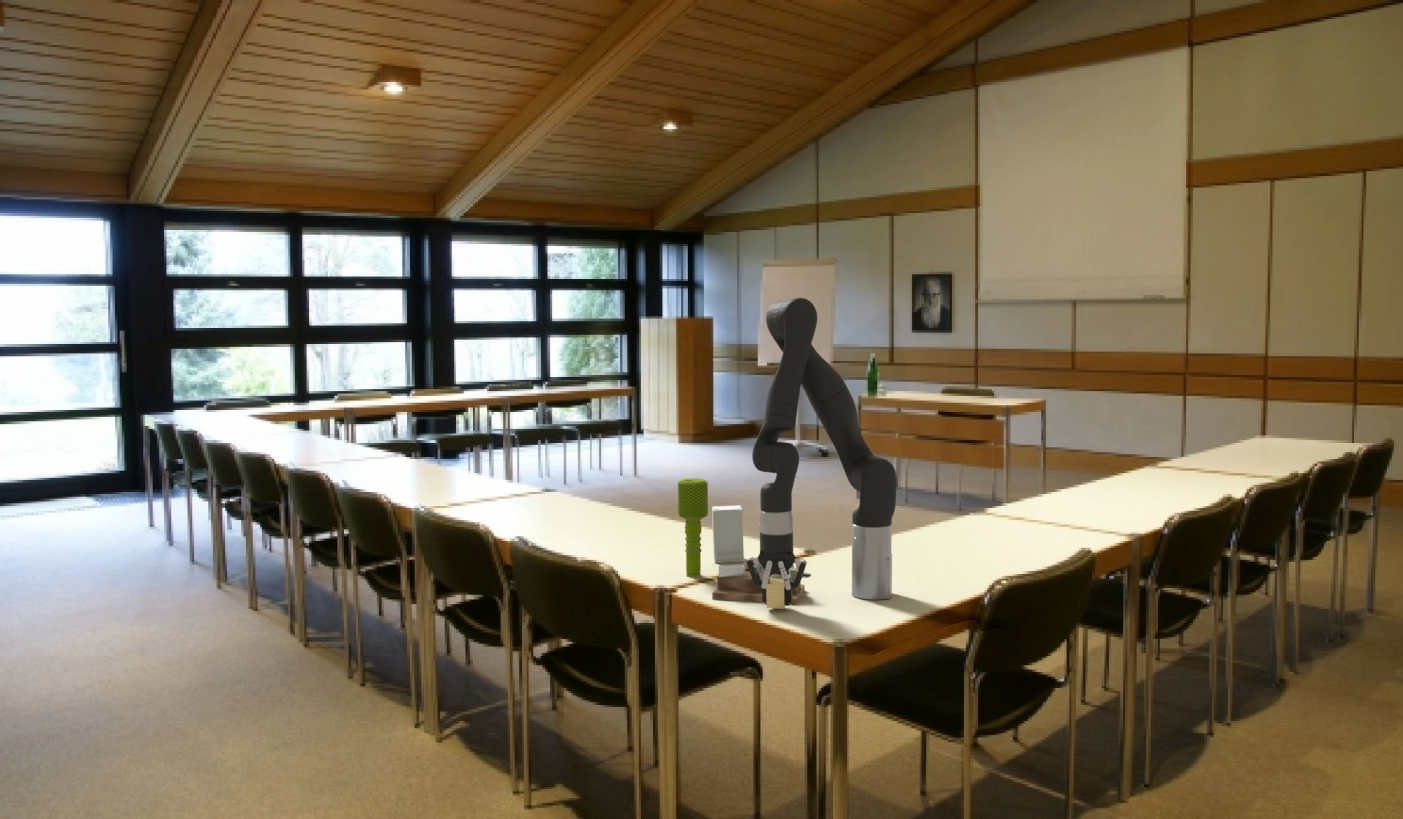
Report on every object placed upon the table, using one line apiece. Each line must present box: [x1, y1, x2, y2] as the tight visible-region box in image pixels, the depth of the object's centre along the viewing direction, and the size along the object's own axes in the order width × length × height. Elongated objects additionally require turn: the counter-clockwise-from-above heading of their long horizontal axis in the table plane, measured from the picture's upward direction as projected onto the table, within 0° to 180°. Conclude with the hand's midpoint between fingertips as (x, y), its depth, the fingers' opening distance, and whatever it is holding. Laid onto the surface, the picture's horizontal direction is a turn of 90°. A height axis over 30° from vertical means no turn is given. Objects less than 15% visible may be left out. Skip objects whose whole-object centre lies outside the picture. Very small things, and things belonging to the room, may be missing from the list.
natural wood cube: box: [766, 578, 787, 610], centre depth 229 cm, size 5×4×6 cm
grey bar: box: [718, 564, 798, 580], centre depth 240 cm, size 19×4×2 cm, turn 75°
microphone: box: [677, 477, 709, 578], centre depth 259 cm, size 8×8×25 cm
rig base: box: [711, 571, 806, 605], centre depth 241 cm, size 20×12×4 cm, turn 75°
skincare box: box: [711, 504, 745, 564], centre depth 275 cm, size 8×6×15 cm
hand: (777, 604), depth 229 cm, fingers closed on natural wood cube, 4 cm apart
